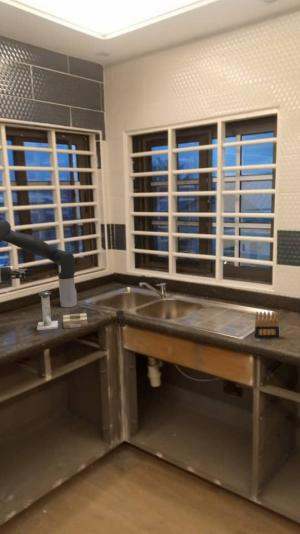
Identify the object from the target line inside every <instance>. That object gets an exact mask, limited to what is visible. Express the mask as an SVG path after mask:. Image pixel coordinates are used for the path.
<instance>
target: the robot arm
mask: <svg viewBox="0 0 300 534" xmlns="http://www.w3.org/2000/svg"><path fill="white" fill-rule="evenodd" d="M11 228H12V226H11V224H10V222H9V221H7V220H6V219H0V243H2V242H5V243H7V244H8V243H9V244H11V245H13V246H15V247H17V248H19V249H21V250H23V251H26V252H28V253H30V254H33V255H35V256H38V257H41V258H45V259H48V260H49V261H50V262H52V263H55V264H56V265H58V266H60V272H59V273H58V275H57V276H58V277H57V278H58V288H59V301H60V307H61V308H71V307H75V306H77V305H78V296H77V295H78V294H77V288H76V286H75V285H76V283H75V272H76V262H75V261H76V260H75V256H74V254H73V253H72V252H71V251H66V250H61V249H58V248H55V247H53V246H51V245H49V244H48V243H47V242H46V241H44V240H43V239H41V238H38V237H37V236H34V235H32V234H28V233H23V232H18V231H15V230H12V229H11ZM35 273H36V269H35V268H27V267H26V268H15V269H14V270H12V268H11V266H0V283H8V282H12V280H14V279H15V280H16V279H17V280H18V279H25V278H29V277H35V276H34V275H35Z"/></svg>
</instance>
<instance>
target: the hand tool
mask: <svg viewBox="0 0 300 534" xmlns="http://www.w3.org/2000/svg"><path fill="white" fill-rule="evenodd" d="M115 313H116V317H117V319H118V321H119V325H120V326H121V327H122V328H125V327H126V317H125V312H124V311H123V310H121V309H119V310H118V311H116V312H115Z"/></svg>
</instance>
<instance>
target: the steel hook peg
mask: <svg viewBox="0 0 300 534" xmlns="http://www.w3.org/2000/svg"><path fill="white" fill-rule="evenodd" d="M50 295H52V292H51V291H49V290H48V291H47V290H46V291H40V292H38V296H39V297H40V298H41V311H42V322H43V324H44V326H49V325H51V324H52V323H51V321H52V313H51V311H52V310H51V302H50V300H51V299H50Z"/></svg>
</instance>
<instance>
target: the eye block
mask: <svg viewBox="0 0 300 534" xmlns="http://www.w3.org/2000/svg"><path fill="white" fill-rule="evenodd" d="M62 324H63V325H62V326H63V327H62V328H63V329H73V328H83V327H88V325H89V324H88V317H87V313H86V312H83V313H82V312H81V313H74V314H73V313H72V314H63V315H62Z"/></svg>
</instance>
